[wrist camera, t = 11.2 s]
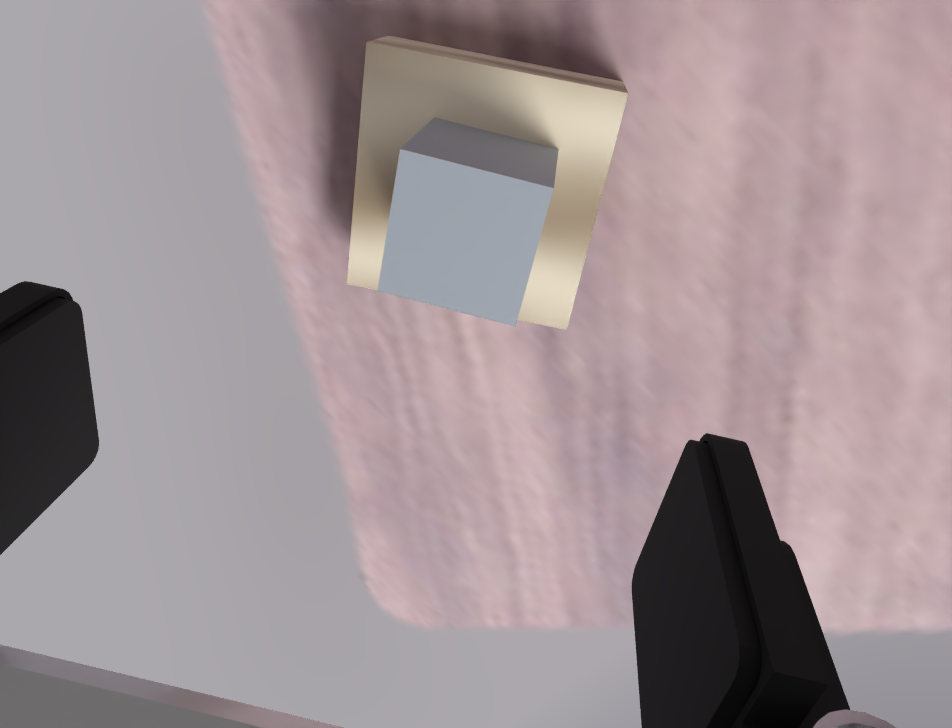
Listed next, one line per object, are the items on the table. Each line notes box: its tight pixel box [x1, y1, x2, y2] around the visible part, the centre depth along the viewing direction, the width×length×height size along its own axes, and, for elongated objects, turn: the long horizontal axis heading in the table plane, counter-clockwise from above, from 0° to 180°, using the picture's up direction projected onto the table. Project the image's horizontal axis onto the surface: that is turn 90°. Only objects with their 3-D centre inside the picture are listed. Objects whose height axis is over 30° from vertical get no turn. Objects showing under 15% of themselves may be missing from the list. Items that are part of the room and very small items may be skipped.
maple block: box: [347, 35, 628, 330], centre depth 30 cm, size 10×10×4 cm
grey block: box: [377, 117, 559, 326], centre depth 26 cm, size 5×5×6 cm
